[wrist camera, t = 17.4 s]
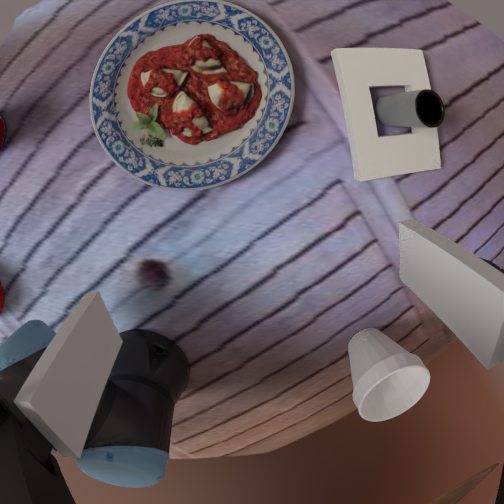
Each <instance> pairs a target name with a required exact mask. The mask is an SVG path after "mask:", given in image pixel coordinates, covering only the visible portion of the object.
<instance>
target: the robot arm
mask: <svg viewBox="0 0 504 504" xmlns="http://www.w3.org/2000/svg"><path fill="white" fill-rule="evenodd" d="M399 237H400V280H401V281H403V282H404V283H405V284H406V285H407V286H408V287H409V288H410V289H411V290H412V291H413V292H414V293H415V294H416V295H417V296H418V297H419V298H420V299H421V300H422V301H423V302H424V303H425V304H426V305H427V306H428V307H429V308H430V309H431V310H432V311H433V312H434V313H435V314H436V315H437V316H438V317H439V318H440V319H441V320H442V321H443V322H444V323H445V324H446V325H447V326H448V327H449V329H450V330H451V331H452V332H453V333H454V334H455V335H456V336H457V337H458V338H459V339H460V340H461V341H462V342H463V343H464V345H465V346H466V347H467V348H468V349H469V350H470V351H471V352H472V353H473V354H474V356H475V357H476V358H477V359H478V360H479V361H480V362H481V363H482V364H483V365H484V367H485V368H486V369H487V370H488V369H490V368H492V367H493V366H495V365H497V364H498V363H500V362H501V361H503V358H504V270H503V269H500V267H498V266H497V265H495V264H494V263H492V262H491V261H488V260H485V259H482V258H479V257H477V256H476V255H474V254H472V253H471V252H469V251H468V250H466V249H464V248H463V247H461V246H460V245H458V244H456V243H455V242H453V241H451V240H450V239H448V238H446V237H444V236H443V235H441V234H439V233H438V232H436V231H434V230H432V229H431V228H429V227H427V226H425V225H423V224H422V223H420V222H418V221H416V220H414V219H411V220H406V221H402V222H399ZM189 372H190V368H189V362H188V360H187V357H186V356H185V354H184V353H183V351H182V350H181V349H180V348H179V347H178V346H177V345H176V344H175V343H173V342H172V341H171V340H169V339H167V338H166V337H164V336H162V335H159V334H157V333H154V332H150V331H144V330H130V331H125V332H122V333H120V334H119V333H118V331H117V329H116V327H115V325H114V323H113V321H112V319H111V317H110V315H109V313H108V311H107V309H106V306H105V304H104V302H103V300H102V298H101V295H100V293H99V291H97V292H93V293H88V294H85V295H84V296H83V297H82V299H81V300H80V301H79V303H78V304H77V306H76V307H75V308H74V310H73V311H72V312H71V314H70V315H69V316H68V318H67V319H66V321H65V322H64V323H63V325H62V326H61V328H60V329H59V331H58V332H57V333H55V332H54V331H53V330H52V329H51V328H50V327H49V326H47V325H46V324H45V323H44V322H42V321H40V320H31V321H28V322H27V323H25V324H24V325H23V326H22V327H20V328H19V329H18V330H17V331H16V332H14V333H13V334H12V335H11V336H10V337H9V338H8V339H7V340H6V341H5V342H4V343H3V344H2V345H1V346H0V504H76V503H75V501H74V499H73V497H72V495H71V493H70V491H69V488H68V486H67V484H66V482H65V480H64V477H63V475H62V473H61V470H60V467H59V465H58V462H57V460H56V459H55V457H54V456H53V455H52V454H54V453H56V452H57V451H59V453H61V455H62V456H64V457H72V458H76V463H77V466H78V467H79V468H80V469H81V470H82V471H83V472H84V473H86V474H87V475H89V476H91V477H93V478H95V479H97V480H100V481H102V482H105V483H109V484H113V485H117V486H123V487H147V486H152V485H155V484H157V483H158V482H160V481H161V480H162V479H163V478H164V476H165V472H166V467H167V462H168V460H169V447H170V437H171V428H172V419H173V411H174V406H175V404H176V402H177V401H178V399H179V398H180V396H181V394H182V392H183V391H184V390H185V388H186V386H187V384H188V380H189ZM495 504H504V465H503V470H502V475H501V480H500V485H499V489H498V493H497V497H496V501H495Z"/></svg>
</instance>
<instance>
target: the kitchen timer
mask: <svg viewBox="0 0 504 504" xmlns="http://www.w3.org/2000/svg"><path fill="white" fill-rule="evenodd" d="M3 306H4V293H3V288H2V285H1V282H0V312H1V311H2V308H3Z"/></svg>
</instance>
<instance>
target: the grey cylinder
mask: <svg viewBox="0 0 504 504" xmlns="http://www.w3.org/2000/svg"><path fill="white" fill-rule="evenodd" d="M375 113H376V116H377V118H378V119H379V121H380V122H381V123H383V124H384V125H387V126H399V127H424V128H435V127H438V126H439V125H440V124H441V123H442V121H443V119H444V115H445V109H444V105H443V102H442V100H441V98H440V97H439V95H438V94H437V93H435V92H434V91H432V90H429V89H423V90H416V91H409V92H402V93H396V94H390V95H385V96H382V97H380V98H379V99H378V100H377V102H376V105H375Z"/></svg>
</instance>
